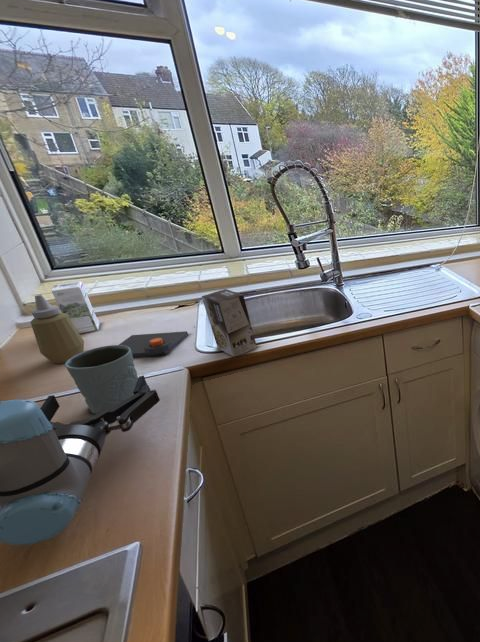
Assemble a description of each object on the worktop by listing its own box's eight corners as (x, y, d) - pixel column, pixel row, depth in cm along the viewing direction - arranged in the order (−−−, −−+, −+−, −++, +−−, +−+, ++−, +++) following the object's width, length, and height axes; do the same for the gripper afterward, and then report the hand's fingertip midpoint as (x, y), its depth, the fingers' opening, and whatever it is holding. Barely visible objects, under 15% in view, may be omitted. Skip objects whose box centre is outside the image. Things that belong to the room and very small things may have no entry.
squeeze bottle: (43, 369, 102) (9, 304, 95) (48, 356, 108) (17, 294, 101) (87, 359, 107) (58, 296, 100) (90, 347, 112) (63, 287, 105)
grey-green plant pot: (89, 400, 91) (67, 354, 86) (147, 383, 97) (129, 339, 93) (86, 423, 84) (62, 374, 79) (149, 403, 90) (130, 357, 86)
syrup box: (100, 324, 126) (81, 280, 120) (98, 331, 121) (79, 285, 116) (74, 329, 122) (53, 284, 117) (71, 336, 118) (50, 290, 112)
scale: (101, 363, 105) (97, 353, 104) (133, 339, 117) (129, 330, 116) (166, 357, 108) (163, 347, 107) (191, 335, 120) (188, 326, 119)
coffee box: (258, 347, 114) (244, 294, 108) (234, 357, 109) (218, 302, 103) (240, 339, 118) (226, 288, 112) (216, 348, 113) (200, 295, 107)
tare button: (149, 347, 108) (147, 342, 107) (154, 343, 110) (152, 338, 110) (160, 346, 108) (158, 341, 108) (165, 342, 111) (163, 337, 110)
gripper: (-36, 505, 62) (21, 426, 79) (170, 446, 75) (181, 388, 91) (-62, 468, 59) (2, 394, 76) (156, 413, 72) (171, 359, 88)
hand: (100, 390), depth 83 cm, fingers open, 13 cm apart
